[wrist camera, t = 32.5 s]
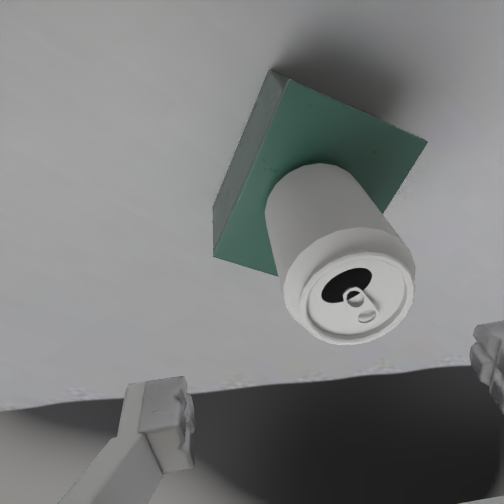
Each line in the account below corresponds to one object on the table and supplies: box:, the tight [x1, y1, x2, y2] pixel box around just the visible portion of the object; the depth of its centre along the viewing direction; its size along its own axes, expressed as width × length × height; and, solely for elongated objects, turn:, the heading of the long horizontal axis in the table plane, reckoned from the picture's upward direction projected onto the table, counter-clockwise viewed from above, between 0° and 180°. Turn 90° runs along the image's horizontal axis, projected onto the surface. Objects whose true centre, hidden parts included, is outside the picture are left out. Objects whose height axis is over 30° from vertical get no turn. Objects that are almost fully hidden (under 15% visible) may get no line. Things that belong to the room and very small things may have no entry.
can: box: [265, 163, 416, 345], centre depth 28 cm, size 8×8×12 cm
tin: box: [213, 70, 372, 252], centre depth 37 cm, size 14×11×8 cm
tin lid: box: [213, 79, 428, 276], centre depth 33 cm, size 14×11×1 cm
